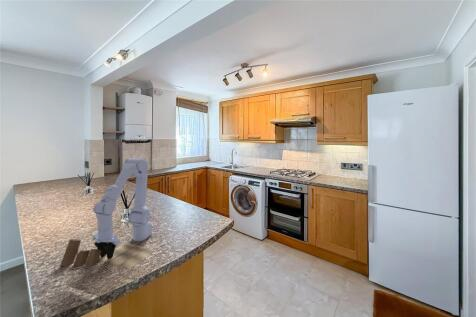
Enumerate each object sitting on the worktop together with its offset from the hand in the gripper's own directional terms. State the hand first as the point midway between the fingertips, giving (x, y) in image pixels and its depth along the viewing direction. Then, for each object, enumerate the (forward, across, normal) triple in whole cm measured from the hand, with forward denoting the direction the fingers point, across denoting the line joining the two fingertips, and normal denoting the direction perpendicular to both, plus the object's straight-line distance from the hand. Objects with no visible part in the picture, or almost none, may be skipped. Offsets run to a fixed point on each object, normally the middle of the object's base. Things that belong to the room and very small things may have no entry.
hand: (106, 256), depth 95 cm
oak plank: (+1, 0, +5) cm, 5 cm away
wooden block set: (+2, -9, -7) cm, 11 cm away
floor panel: (+1, +10, +5) cm, 12 cm away
